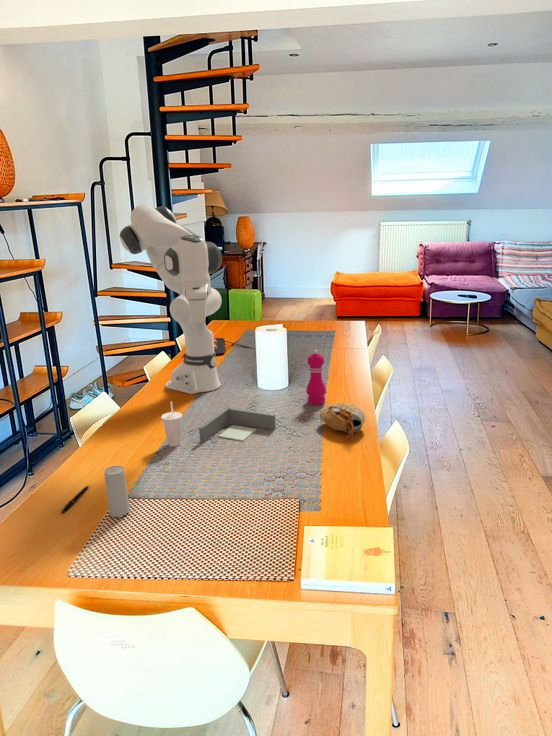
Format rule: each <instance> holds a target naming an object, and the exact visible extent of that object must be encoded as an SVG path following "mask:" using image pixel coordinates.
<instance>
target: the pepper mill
mask: <svg viewBox="0 0 552 736" xmlns="http://www.w3.org/2000/svg"><path fill="white" fill-rule="evenodd" d="M307 364H308V366H309V367H308V371H309V373H310V376H309V377H310V378H309V381H308V384H307V386H306V390H305V392H306V394H307V395H308V396H307V402H308V404H310V405H313V406H314V405H315V406H317V405H323V404H324V403H325V402H326V400H325V399H326V398H325V395H326V393H327V388H326V384H325V382H324V380H323V376H322V372H323V370H324V366H323V365H324V364H325V358H324V356H323V355H322V354H320V353H319V350H318V349H314V350H313V353H312V354H310V355H309V356H308V357H307Z"/></svg>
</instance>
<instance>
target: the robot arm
mask: <svg viewBox="0 0 552 736" xmlns="http://www.w3.org/2000/svg"><path fill="white" fill-rule="evenodd" d="M129 217H130V218H129V219H130V223H129V225H127V226H126V225H125V227H123V228H122V229H121V230H120V232H119V238H120V243H121V245H122V247H123V248H124V250H126V251H127V252H128V253H130V254H131V255H137V254H140V253H142V252H143V251H145V252H146V255H147V257H148V260H149V262H150V264H151V265H152V267H153V268H154V270H155V271H156V273H157V274H158V276H159V277H160V279H161V280H162V282H163V283H164V284H165V286H166V288H168V289H169V290H171V291H173V292H175V293H177V294H178V296H177V297H175V298H174V299H173V300H172V301H171V302H170V305H169V312H170V316H171V318H172V319H173V320H174V321H175V322H177V323H178V324H179V325H180V327H181V329H182V333H183V335H184V343H185V351H186V352H185V353H184V354H182V355H181V356H180V357H181V358H180V359H183V361H182V362H181V363H180V364H179V365H178V366H176V367H175V368H174V369H173V370H172V372H171V374H170V380H169V381H168V382H166V383H165V389H169V390H174V391H178V392H182V393H184V394H185V393H186V394H188V395H193V394H194V395H195V394H197V393H204V392H210V391H211V392H212V391H214V390H218V389H219V388H220V387H221V385H222V384H221V382H220V379H219V375H218V374H219V373H218V369H217V356H216V355H217V354H216V353H215V351H214V340H213V338H214V332H213V331H212V330H211V329H209V328H208V326H207V324H206V317H208V316H211V315H214V314H215V313H216V312H217V311H219V309H220V308H221V306H222V301H223V300H222V296H221V294H220V292H219V291H218V290H216V289H215V288H213V287H212V285H211V277H210V274H215V273H216V272H217V271H218V269H220V267H221V265H222V263H223V255H222V251H221V249H220V248H219V247H218V246H217V245H216V244H215V243H214V242H212V241H206V240H205V238H204V237H202V236H200V235H197V234H196V233H195V232H194V231H191V230H190V229H189V228H186V227H185V226H183V225H180V224H177V220H176V217H175V214H173V212H172V211H171V210H170V209H168V207H166V206H163V205H161V206H158V207H156V208H154V207H152V206H150V205H147V204H140V205H138V206H135V207H134V208H133V210H132V211H131V213H130V216H129Z"/></svg>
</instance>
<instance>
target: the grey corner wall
mask: <svg viewBox="0 0 552 736" xmlns="http://www.w3.org/2000/svg"><path fill="white" fill-rule="evenodd" d="M276 420H277V419H276V414H275V413H268V412H261V411H254V410H249V409H248V410H247V409H241V408H235V407H226V408H224V409H223V410H222V411H220V412H219V413H218V414H216V415H215V416H213V417H212V418H210V420H207V421H206V422H205V423H204V424H202V425H201V426H199V427H198V431H199V442H200V443H202V444H203V443H205V442H207V441H208V440H209V439H210V438H211V437H213V436H214V435H215V434H217V433H219V431H221V430H222V429H223V428H225V427H226V426H227V425H228V424H232V425H231V426H229V427H228V428H226V429H225V430H224V431H223V432H221V433H220V434H219V435H218V438H222V439H229V440H235V441H239V442H240V441H241V442H245V440H247V439H248V438H249V437H250V436H251V435H253V433H255V432H256V431H257V429H256V428H259V429H260V428H261V429H267V430H273V431H275V430H276V428H277V425H276ZM233 424H236V425H233ZM238 425H239V426H238ZM240 425H241V426H240ZM247 426H248V427H247ZM251 427H255V428H251Z"/></svg>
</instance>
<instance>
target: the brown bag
mask: <svg viewBox="0 0 552 736" xmlns="http://www.w3.org/2000/svg"><path fill="white" fill-rule="evenodd" d="M318 414H319V415H318V416H319V419H320V421H322V422H324V423H325V424H326V425H327V426H328V427H329V428H330V429H332V430H334V431H340V432H344V433H346V434H348V435H347V437H346V438H345V440H343V441H342V442H343V443H344V442H346V441H348V440H350V439H351V441H350V443H351V442H353V441H354V440H355V439H354V435H355V433H359V432H360V431H361V429H362V428H363V426H364V423H365V422H366V418H367V417H366V415H365V412H364V411H363V410H362V409H361V408H359V407H358V406H357V405H354V404H349V403H333V404H328V405H326V406H324V407H322V409H321V410H320V412H319V413H318Z"/></svg>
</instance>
